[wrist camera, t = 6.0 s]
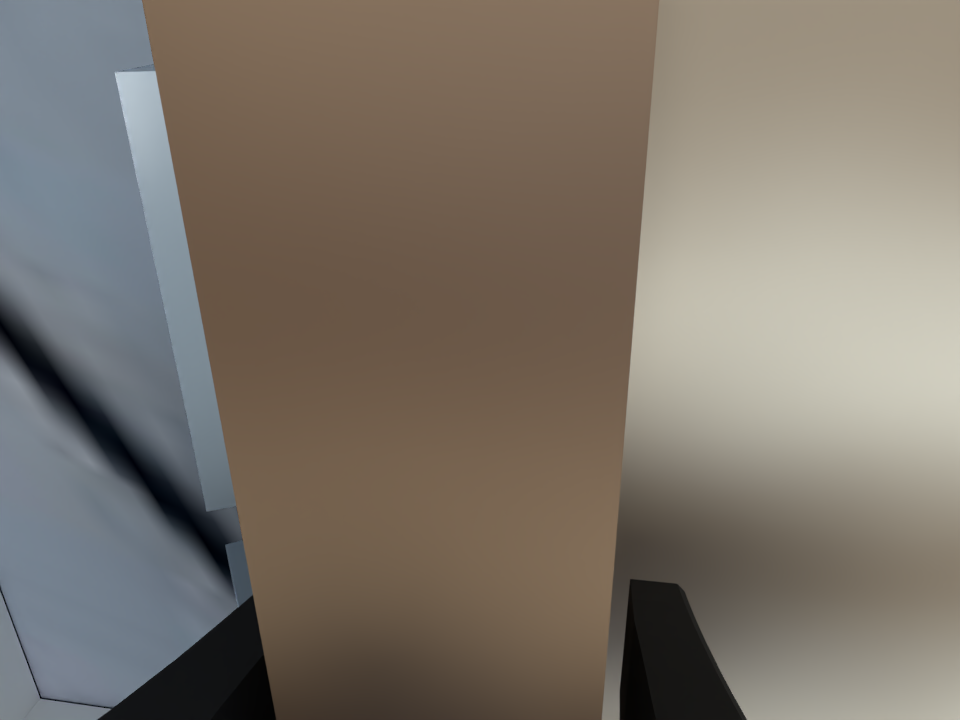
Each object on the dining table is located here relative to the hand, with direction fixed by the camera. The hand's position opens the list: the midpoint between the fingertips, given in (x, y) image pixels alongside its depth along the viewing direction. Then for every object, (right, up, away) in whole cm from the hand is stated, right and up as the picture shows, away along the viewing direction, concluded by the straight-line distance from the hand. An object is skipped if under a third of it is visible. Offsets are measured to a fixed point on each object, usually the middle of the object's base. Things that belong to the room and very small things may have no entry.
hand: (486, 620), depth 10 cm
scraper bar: (0, +1, +1) cm, 1 cm away
